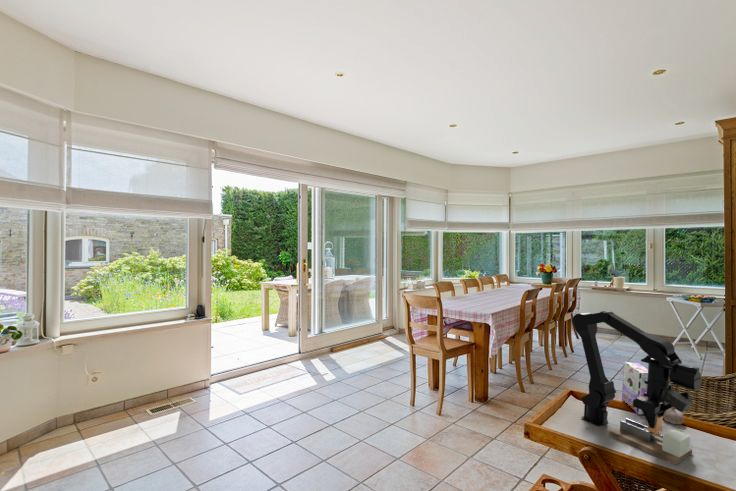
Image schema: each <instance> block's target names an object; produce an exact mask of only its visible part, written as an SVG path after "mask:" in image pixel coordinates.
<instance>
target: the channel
mask: <svg viewBox="0 0 736 491" xmlns="http://www.w3.org/2000/svg"><path fill="white" fill-rule="evenodd" d="M619 426H620V430H622V431H624V432H626V433H629V434H631V435H633V436H636V437H638V438H640V439H643V440H645V441H647V442H652V441H654V440H653V439H651V432H648V431H646V430H643V428H646V429H648V425H644V424H643V423H640V422H637V421H634V420H632V419H629V418H628V417H625V421H623V420H620V421H619Z"/></svg>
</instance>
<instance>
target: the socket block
mask: <svg viewBox="0 0 736 491" xmlns="http://www.w3.org/2000/svg"><path fill="white" fill-rule="evenodd" d="M662 435H663V443H662V450H663V451H665V452H668V453H670V454H672V455H675V456H677V457H681V456H683V455H684V454H686V453H687V452H689V448H690V442H691V435H690V434H686V433H684V432H681V431H679V430H676V429H674V428H673V429H671V430H668V431H667V432H665V433H663V434H662Z"/></svg>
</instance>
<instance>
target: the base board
mask: <svg viewBox="0 0 736 491" xmlns="http://www.w3.org/2000/svg"><path fill="white" fill-rule="evenodd" d="M608 436H611V437H613V438H616V439H617V440H620V441H622V442H624V443H626V444H629V445H631V446H633V447H635V448H638V449H639V450H642V451H644V452H645V453H646V452H647V453H648V454H651V455H652V456H655V457H657V458H659V459H661V460H664V461H667V462H669V463H670V464H673V465H678V464H679V463H681V461H683V460H685V459H687V458H689V457H690V456H691V455H692V454H693V448H691V447H689V452H687V453H686V454H684V455H683V456H681V457H677V456H675V455H672V454H670V453H668V452H665V451H663V450H662V443H660V442H658V441H656V440H654V441H652V442H647V441H645V440H643V439H640V438H638V437H636V436H633V435H631V434H629V433H626V432H624V431H622V430H620V425H617V426H615V427H614V428H612V429H609V430H608Z"/></svg>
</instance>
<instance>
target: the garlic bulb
mask: <svg viewBox="0 0 736 491" xmlns="http://www.w3.org/2000/svg"><path fill="white" fill-rule="evenodd" d="M663 419H664V421H665V422H667V423H671V424H673V425H682V424H683V423H684V421H685V416H684V414H683V412H680V411H678V410H677V409H676V408H675V407H672V408H670V409H668V410H667V411H666V413H665V415H664V418H663Z"/></svg>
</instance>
